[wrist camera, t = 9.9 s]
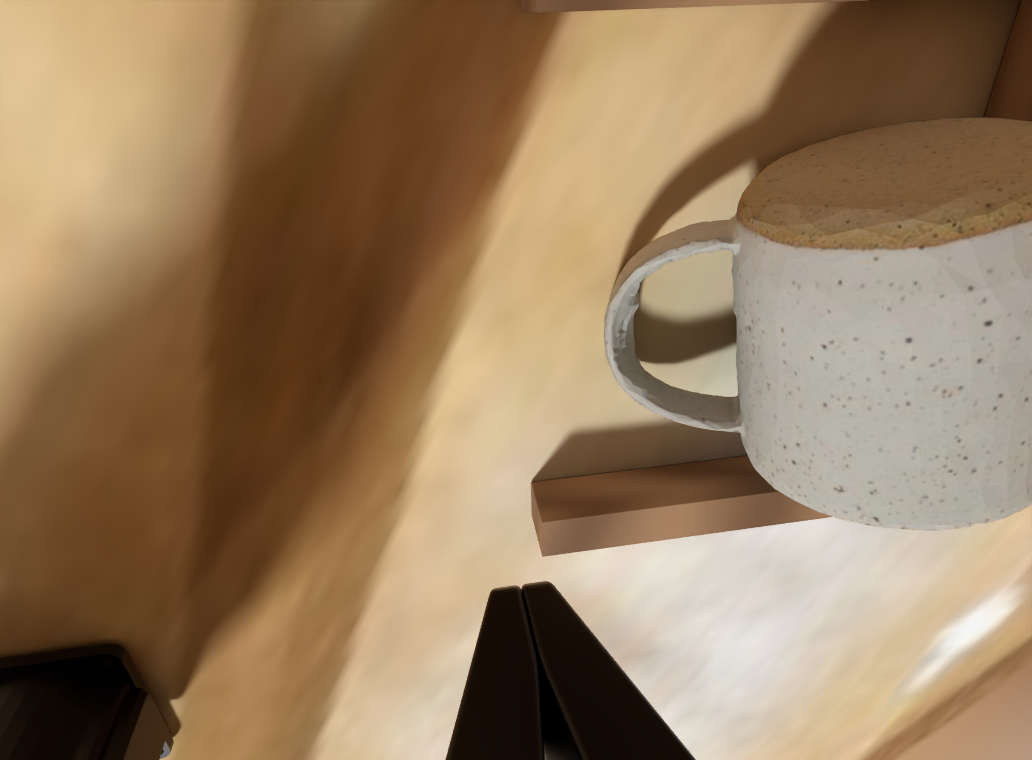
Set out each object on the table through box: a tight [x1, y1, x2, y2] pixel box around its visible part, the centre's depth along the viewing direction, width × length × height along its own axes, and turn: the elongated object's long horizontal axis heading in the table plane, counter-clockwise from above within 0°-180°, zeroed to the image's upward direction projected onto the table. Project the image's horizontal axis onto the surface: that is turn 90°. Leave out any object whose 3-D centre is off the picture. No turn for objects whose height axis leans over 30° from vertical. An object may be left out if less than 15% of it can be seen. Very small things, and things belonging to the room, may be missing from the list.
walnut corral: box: [520, 0, 1032, 557], centre depth 18 cm, size 14×17×2 cm
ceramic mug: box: [604, 117, 1032, 531], centre depth 16 cm, size 11×8×8 cm
